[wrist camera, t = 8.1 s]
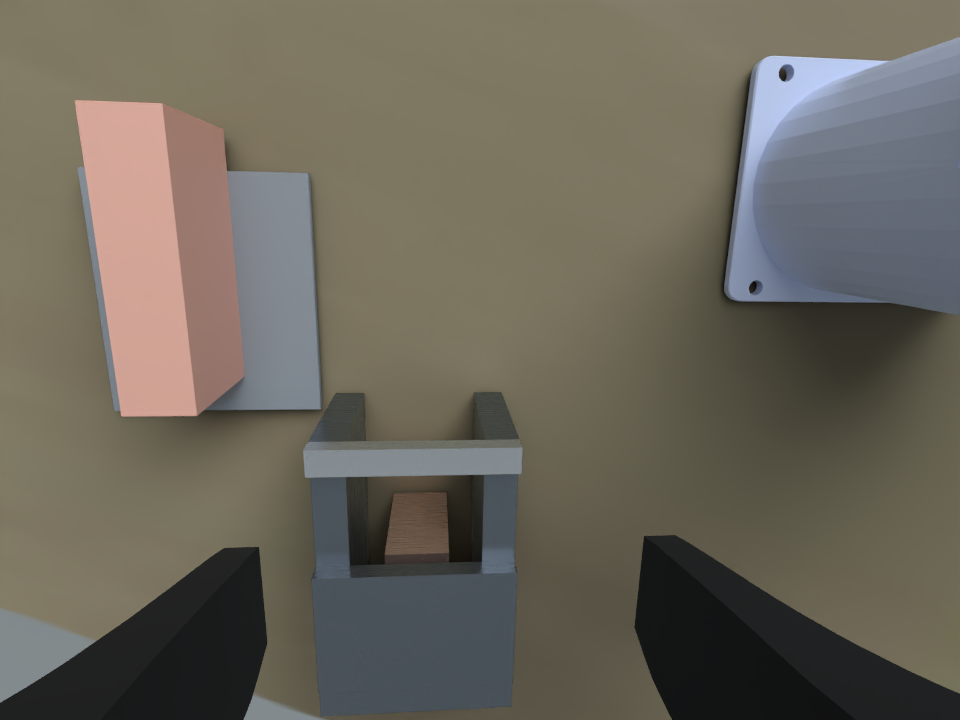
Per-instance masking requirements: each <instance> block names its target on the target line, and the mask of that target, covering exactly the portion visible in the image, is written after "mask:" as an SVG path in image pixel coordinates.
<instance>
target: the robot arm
mask: <svg viewBox="0 0 960 720" xmlns="http://www.w3.org/2000/svg"><path fill="white" fill-rule="evenodd" d="M780 68H784V69H785V71H786V73H787V77H786V80H785V81H781V79H780V78H779V70H780ZM753 281H755V282H756V284H757V287H756V290H755V291H754V292H753V293H750V292H749V286H750V284H751V283H752V282H753ZM724 292H725V294H726V296H727V297H729V298H730V299H732V300H736V301H759V302H873V303H894V304H900V305H905V306H911V307H916V308H922V309H927V310H932V311H938V312H943V313H949V314H954V315H960V37H958V38H955V39H952V40H950V41H947V42H944V43H941V44H938V45H935V46H932V47H929V48H926V49H924V50H921V51H918V52H915V53H912V54H909V55H906V56H903V57H900V58H898V59H895V60H892V61H872V60H851V59H829V58H808V57H787V56H770V57H766V58H764V59H762V60H761V61H759V62H758V63H757V64H756V65H755V66H754V68H753V70H752V74H751V80H750V88H749V96H748V104H747V111H746V119H745V127H744V135H743V143H742V150H741V158H740V166H739V174H738V182H737V189H736V197H735V205H734V213H733V221H732V228H731V236H730V244H729V252H728V259H727V267H726V275H725V283H724ZM635 630H636V633H637V636H638V639H639V642H640V645H641V648H642V651H643V654H644V657H645V659H646V662H647V665H648V668H649V670H650V673H651V676H652V679H653V681H654V683H655V685H656V687H657V690H658V692H659V694H660V696H661V698H662V700H663V702H664V704H665V706H666V708H667V710H668V712H669V714H670V716H671V718H672V720H960V694H959V693H957V692H954V691H952V690H950V689H947V688H945V687H943V686H940V685H938V684H936V683H934V682H932V681H929V680H927V679H925V678H923V677H921V676H919V675H916V674H914V673H912V672H910V671H908V670H906V669H904V668H902V667H900V666H898V665H896V664H894V663H892V662H890V661H888V660H886V659H884V658H882V657H880V656H878V655H876V654H874V653H872V652H870V651H868V650H866V649H864V648H862V647H860V646H858V645H856V644H854V643H852V642H850V641H849V640H847V639H845V638H843V637H841V636H839V635H837V634H836V633H834V632H832V631H830V630H829V629H827V628H825V627H823V626H822V625H820V624H818V623H816V622H815V621H813V620H811V619H809V618H808V617H806V616H804V615H802V614H801V613H799V612H797V611H796V610H794V609H792V608H791V607H789V606H787V605H786V604H784V603H782V602H781V601H779V600H778V599H776V598H774V597H773V596H771V595H769V594H768V593H766V592H765V591H763V590H761V589H760V588H758V587H757V586H755V585H754V584H752V583H750V582H749V581H747V580H746V579H744V578H743V577H741V576H740V575H738V574H736V573H735V572H733V571H732V570H730V569H729V568H727V567H726V566H724V565H723V564H721V563H720V562H718V561H716V560H715V559H713V558H712V557H710V556H709V555H707V554H706V553H704V552H702V551H701V550H699V549H698V548H696V547H694V546H693V545H691V544H689V543H688V542H686V541H684V540H683V539H681V538H679V537H677V536H675V535H670V536H644V542H643V552H642V561H641V571H640V580H639V590H638V600H637V609H636V619H635ZM266 646H267V634H266V623H265V611H264V600H263V589H262V577H261V566H260V555H259V547H243V548H224V549H222V550H221V551H219V552H218V553H216V554H215V555H213V556H212V557H210V558H209V559H208V560H206V561H205V562H204V563H202V564H201V565H200V566H198V567H197V568H196V569H194V570H193V571H192V572H190V573H189V574H188V575H187V576H185V577H184V578H183V579H181V580H180V581H179V582H177V583H176V584H175V585H173V586H172V587H171V588H169V589H168V590H167V591H165V592H164V593H163V594H161V595H160V596H159V597H157V598H156V599H155V600H153V601H152V602H151V603H149V604H148V605H147V606H145V607H144V608H143V609H141V610H140V611H139V612H137V613H136V614H135V615H133V616H132V617H131V618H129V619H128V620H126V621H125V622H123V623H122V624H121V625H119V626H118V627H116V628H115V629H113V630H112V631H110V632H109V633H108V634H106V635H105V636H103V637H102V638H100V639H99V640H97V641H96V642H95V643H93V644H92V645H90V646H89V647H87V648H86V649H84V650H83V651H82V652H80V653H79V654H77V655H76V656H75V657H73V658H71V659H70V660H69V661H67V662H66V663H64V664H63V665H61V666H59V667H58V668H56V669H55V670H53V671H52V672H50V673H49V674H47V675H45V676H44V677H42V678H41V679H39V680H37V681H36V682H34V683H33V684H31V685H30V686H28V687H26V688H24V689H23V690H21V691H19V692H18V693H16V694H14V695H13V696H11V697H9V698H8V699H6V700H4V701H3V702H1V703H0V720H243V719H244V717H245V715H246V712H247V710H248V707H249V704H250V702H251V699H252V696H253V692H254V689H255V685H256V682H257V679H258V675H259V672H260V668H261V664H262V660H263V657H264V653H265V649H266Z"/></svg>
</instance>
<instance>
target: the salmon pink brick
mask: <svg viewBox="0 0 960 720" xmlns="http://www.w3.org/2000/svg"><path fill="white" fill-rule="evenodd" d="M75 105H76V112H77V119H78V126H79V132H80V139H81V146H82V153H83V160H84V166H85V173H86V180H87V187H88V193H89V200H90V207H91V214H92V221H93V227H94V234H95V241H96V248H97V254H98V261H99V268H100V275H101V282H102V288H103V295H104V302H105V309H106V316H107V322H108V329H109V336H110V343H111V349H112V356H113V363H114V370H115V377H116V383H117V390H118V397H119V404H120V410H121V416H198V415H199V414H200V413H201V412H202V411H204V410H205V409H206V408H207V407H208V406H210V405H211V404H212V403H213V402H214V401H216V400H217V399H218V398H219V397H220V396H222V395H223V394H224V393H225V392H226V391H228V390H229V389H230V388H231V387H233V386H234V385H235V384H236V383H237V382H239V381H240V380H241V379H242V378H243V377H245V372H244V360H243V349H242V337H241V326H240V315H239V303H238V292H237V280H236V269H235V257H234V246H233V235H232V223H231V212H230V200H229V189H228V178H227V166H226V155H225V143H224V132H223V129H221V128H219V127H217V126H214V125H212V124H210V123H207V122H205V121H202V120H200V119H198V118H195V117H193V116H191V115H188V114H186V113H184V112H181V111H179V110H176V109H174V108H172V107H169V106H167V105H165V104H162V103H136V102H109V101H82V100H75Z"/></svg>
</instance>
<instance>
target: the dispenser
mask: <svg viewBox="0 0 960 720" xmlns="http://www.w3.org/2000/svg"><path fill="white" fill-rule="evenodd" d="M303 454H304V470H305V478H310V481H311V497H312V514H313V530H314V547H315V563H316V567H315V570H314V573H313V576H312V579H311V581H312V597H313V612H314V628H315V644H316V660H317V676H318V691H319V694H320V710H321V716H339V715H358V714H377V713H397V712H416V711H435V710H454V709H474V708H493V707H511V697H512V683H513V662H514V638H515V614H516V590H517V569H516V565H515V561H514V559H515V534H516V509H517V484H518V474H521V471H522V445H521V443H520V440H519V437H518V435H517V432H516V430H515V427H514V424H513V422H512V419H511V417H510V414H509V411H508V409H507V406H506V403H505V401H504V398H503V396H502V393H501V392H482V393H474V432H473V440H430V441H365V411H364V393H336V394H335V395H334V397H333V399H332V401H331V403H330V404H329V406H328V408H327V410H326V411H325V413H324V415H323V417H322V418H321V420H320V422H319V424H318V425H317V427H316V429H315V431H314V433H313V434H312V436H311V438H310V440H309V441H308V443H307V445H306V447H305V448H304V450H303ZM430 475H473V487H472V542H471V562H451V563H449V540H448V517H447V494H446V492H427V493H394V496H393V502H392V509H391V516H390V522H389V529H388V536H387V543H386V549H385V564H384V565H370V561H369V531H368V501H367V477H372V476H430Z"/></svg>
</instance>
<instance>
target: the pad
mask: <svg viewBox="0 0 960 720" xmlns="http://www.w3.org/2000/svg"><path fill="white" fill-rule="evenodd" d="M78 174H79V180H80V187H81V194H82V200H83V207H84V213H85V220H86V227H87V233H88V240H89V246H90V253H91V260H92V266H93V273H94V280H95V286H96V293H97V299H98V306H99V313H100V319H101V326H102V333H103V339H104V346H105V352H106V359H107V366H108V372H109V379H110V386H111V392H112V399H113V405H114V411H121V410H120V404H119V397H118V390H117V383H116V377H115V370H114V363H113V356H112V349H111V343H110V336H109V329H108V322H107V316H106V309H105V302H104V295H103V288H102V282H101V275H100V268H99V261H98V254H97V248H96V241H95V234H94V227H93V221H92V214H91V207H90V200H89V193H88V187H87V180H86V173H85V167H78ZM227 178H228V189H229V200H230V212H231V223H232V235H233V246H234V257H235V269H236V280H237V292H238V303H239V315H240V326H241V337H242V349H243V360H244V372H245V377H243V378H242V379H241V380H240V381H239V382H237V383H236V384H235V385H234V386H233V387H231V388H230V389H229V390H228V391H226V392H225V393H224V394H223V395H222V396H220V397H219V398H218V399H217V400H216V401H214V402H213V403H212V404H211V405H210V406H208V407H207V408H206V409H205V410H290V409H321V408H322V391H321V373H320V354H319V335H318V316H317V297H316V278H315V259H314V241H313V222H312V203H311V184H310V174H309V173H285V172H248V171H227Z"/></svg>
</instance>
